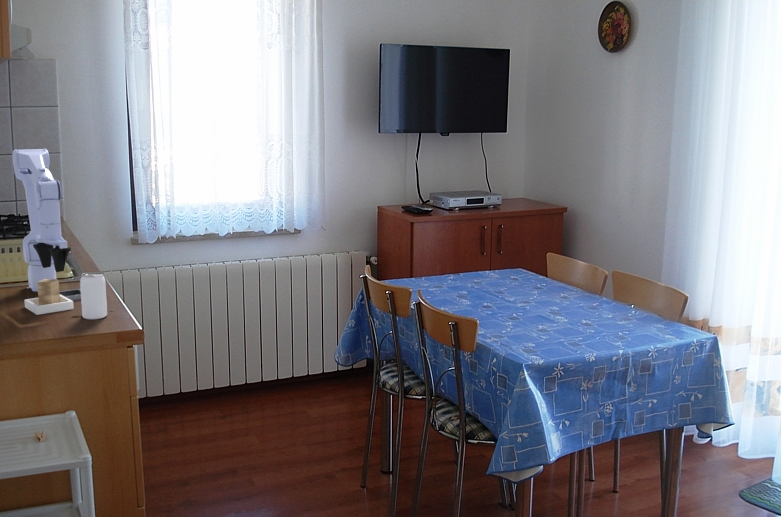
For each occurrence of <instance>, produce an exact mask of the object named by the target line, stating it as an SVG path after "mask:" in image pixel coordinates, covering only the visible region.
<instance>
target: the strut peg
mask: <svg viewBox="0 0 782 517" xmlns="http://www.w3.org/2000/svg"><path fill="white" fill-rule="evenodd" d="M37 285H38V292H37V294H38V295H37V298H39V306H40V305H47V304H53V303H60V293H59V291H60V282H59V279H57V278H56V279H44V280H41V281H39V282H37Z"/></svg>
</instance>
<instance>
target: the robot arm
mask: <svg viewBox="0 0 782 517" xmlns="http://www.w3.org/2000/svg"><path fill="white" fill-rule="evenodd" d="M11 157H12V165H13V172H14V175H15V178H16V179H18V180H19V181H21V182H22V185H23V187H24V191H25V192H24V193H25V201H26V206H27V213H28V214H27V215H28V220H29V225H30V226H29V227H30V232H29V233H28V234H27V235H26V236H24V238H23V240H22V254H23V260H24V262H26V264H29V265H28V267H27V279H28V289H31V291H32V292H37V293H38V285H37V282H39V281H41V280H44V279H57V273H61V272H64V271H65V269H66V268H65V266H66V262H67V258H68V255H69V253H70V252H71V250H72V249H71V247H70V246H68V241H67V240H65V239H64V238H63V237H62V236H63V235H62V224H61V209H60V205H61V203H60V201H61V200H62V187H61V183H60V181H59V179H55V178H54V177H53V174H52V172H51V171H50V163H51V162H50V161H51V160H50V159H51V158H50V154H49V151H48V149H47V148H37V149H36V148H33V149H29V148H27V149H16V148H15V149H14V150H13V151H12V156H11Z"/></svg>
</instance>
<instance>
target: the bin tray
mask: <svg viewBox="0 0 782 517" xmlns="http://www.w3.org/2000/svg"><path fill="white" fill-rule="evenodd" d="M24 308H25V309H27V310H29V311H30V312H32V313H33V314H35V315H44V314H50V313H57V312H64V311H68V310H74V308H75V307H74V301H72V300H70V299H68V298H66V297H65V296H63V295H61V294H60V303H53V304H47V305H40V306H39V298H38V297H34V298H33V297H32V298H27V299H24Z"/></svg>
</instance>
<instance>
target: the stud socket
mask: <svg viewBox="0 0 782 517" xmlns="http://www.w3.org/2000/svg"><path fill="white" fill-rule="evenodd" d="M59 293H60V294H61V295H63V296H65V297H66V298H68V299H70V300H72V301H73V302H77V301H81V290H80V288H74V289H68V290H67V289H66V290H59Z"/></svg>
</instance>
